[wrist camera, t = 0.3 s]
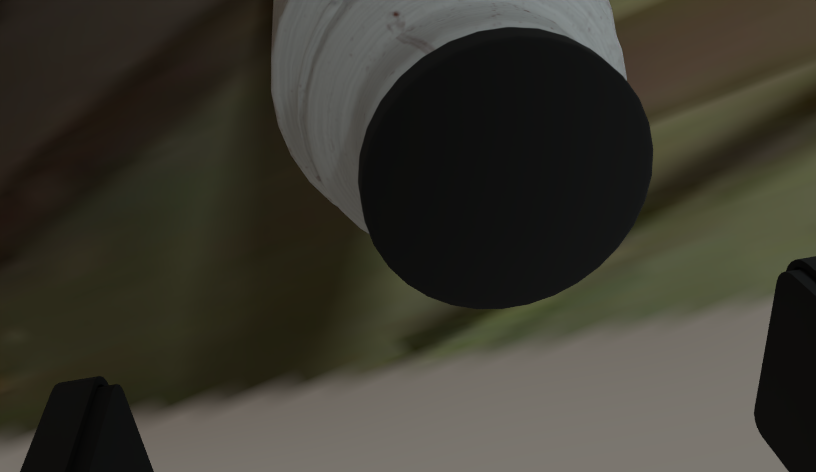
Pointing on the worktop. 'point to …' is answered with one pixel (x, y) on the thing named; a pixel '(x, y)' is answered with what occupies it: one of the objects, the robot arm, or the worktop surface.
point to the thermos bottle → (467, 136)
